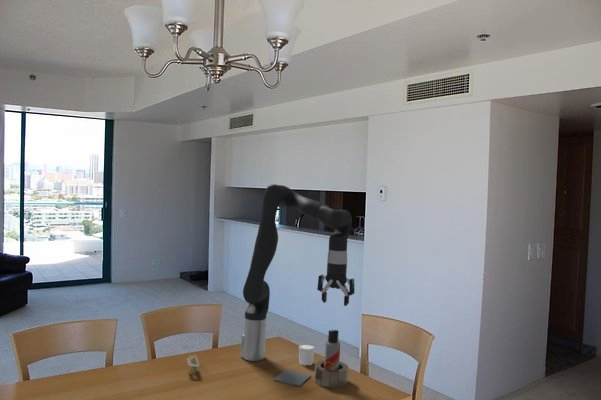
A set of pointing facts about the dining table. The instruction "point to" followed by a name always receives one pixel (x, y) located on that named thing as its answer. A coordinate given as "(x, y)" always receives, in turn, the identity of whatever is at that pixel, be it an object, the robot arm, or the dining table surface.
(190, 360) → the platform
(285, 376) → the rubber mat
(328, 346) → the lotion bottle
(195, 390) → the dining table surface
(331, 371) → the collar
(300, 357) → the white cylinder
